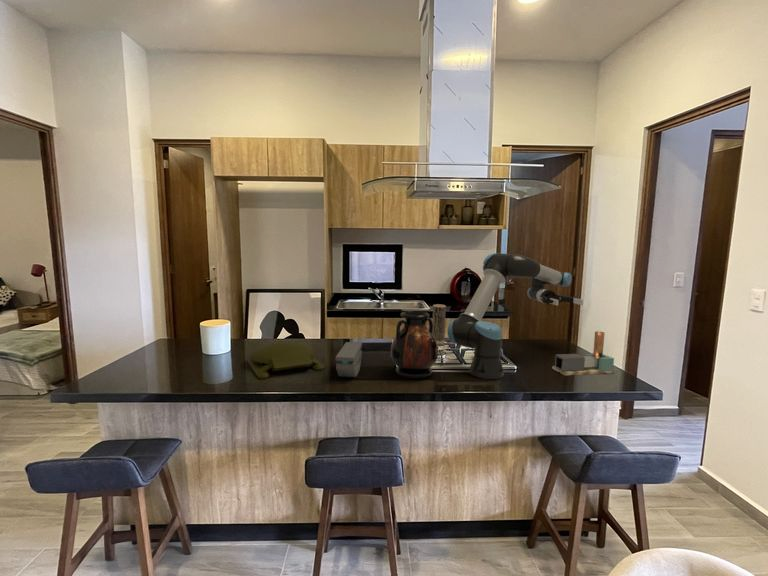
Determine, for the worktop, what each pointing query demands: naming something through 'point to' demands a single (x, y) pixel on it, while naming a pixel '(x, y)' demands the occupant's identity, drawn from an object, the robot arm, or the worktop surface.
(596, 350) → the slip bolt
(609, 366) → the socket
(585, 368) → the base board
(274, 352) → the olive folded cloth
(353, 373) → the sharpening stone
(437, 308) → the wooden log
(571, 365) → the sleeve
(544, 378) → the worktop surface
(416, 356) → the amphora vase
